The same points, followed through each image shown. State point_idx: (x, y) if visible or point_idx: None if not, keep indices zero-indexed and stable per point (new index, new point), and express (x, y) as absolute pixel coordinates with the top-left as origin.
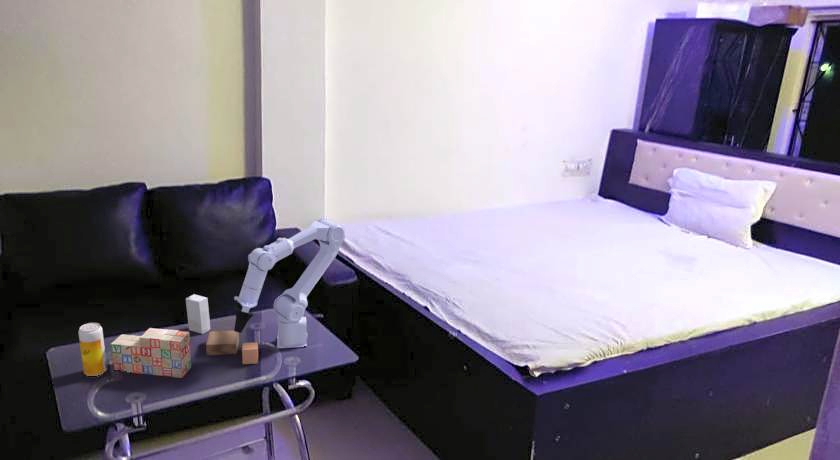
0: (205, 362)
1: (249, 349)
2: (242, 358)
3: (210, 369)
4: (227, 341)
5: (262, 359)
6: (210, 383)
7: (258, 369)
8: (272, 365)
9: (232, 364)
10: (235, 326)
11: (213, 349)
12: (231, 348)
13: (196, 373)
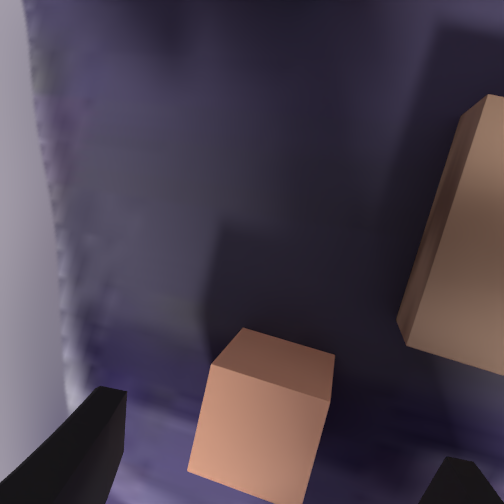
0: (352, 99)
1: (201, 418)
2: (232, 340)
3: (247, 125)
4: (477, 288)
5: None
6: (92, 111)
7: (154, 396)
8: (172, 479)
9: (261, 268)
10: (52, 440)
11: (454, 163)
12: (410, 300)
13: (227, 32)
